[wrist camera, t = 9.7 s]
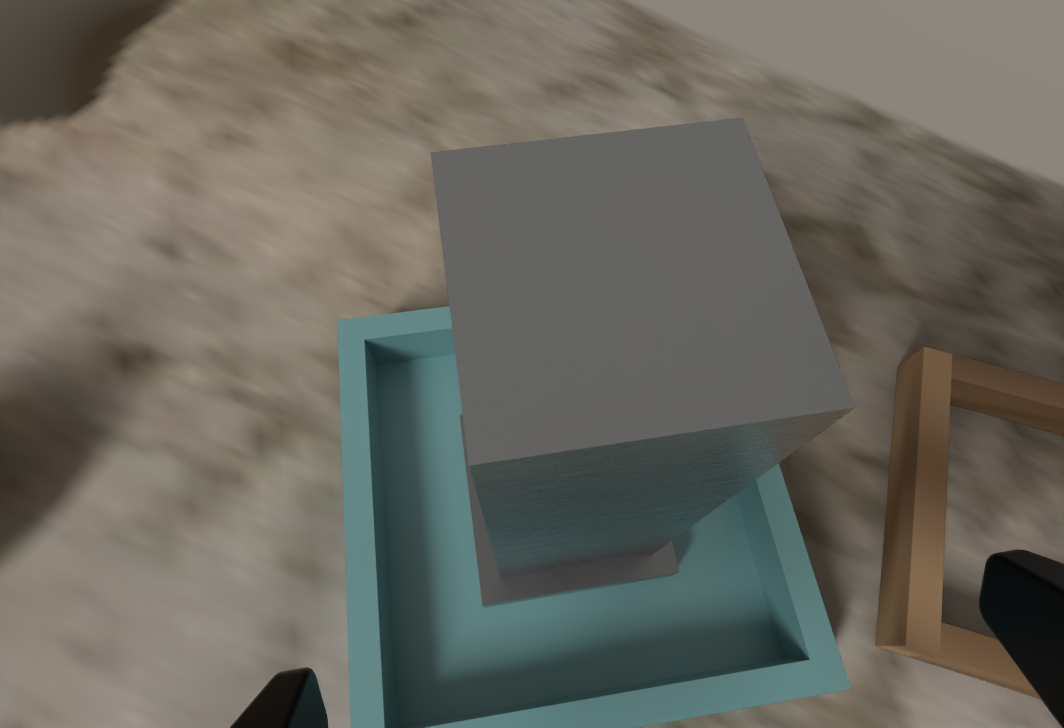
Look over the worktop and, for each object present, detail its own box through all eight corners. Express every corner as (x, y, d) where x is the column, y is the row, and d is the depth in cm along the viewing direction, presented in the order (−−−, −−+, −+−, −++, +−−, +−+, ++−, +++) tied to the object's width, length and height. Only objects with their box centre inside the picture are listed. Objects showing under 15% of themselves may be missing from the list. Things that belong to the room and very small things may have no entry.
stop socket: (1219, 755, 18) (1282, 765, 16) (875, 645, 19) (905, 645, 17) (1183, 444, 21) (1231, 428, 20) (897, 366, 22) (924, 346, 21)
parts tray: (811, 684, 18) (851, 689, 16) (373, 762, 17) (353, 779, 15) (699, 307, 23) (717, 272, 21) (355, 352, 22) (337, 320, 20)
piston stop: (672, 575, 19) (926, 450, 7) (484, 607, 18) (417, 530, 7) (630, 401, 21) (770, 82, 9) (462, 425, 21) (383, 123, 9)
